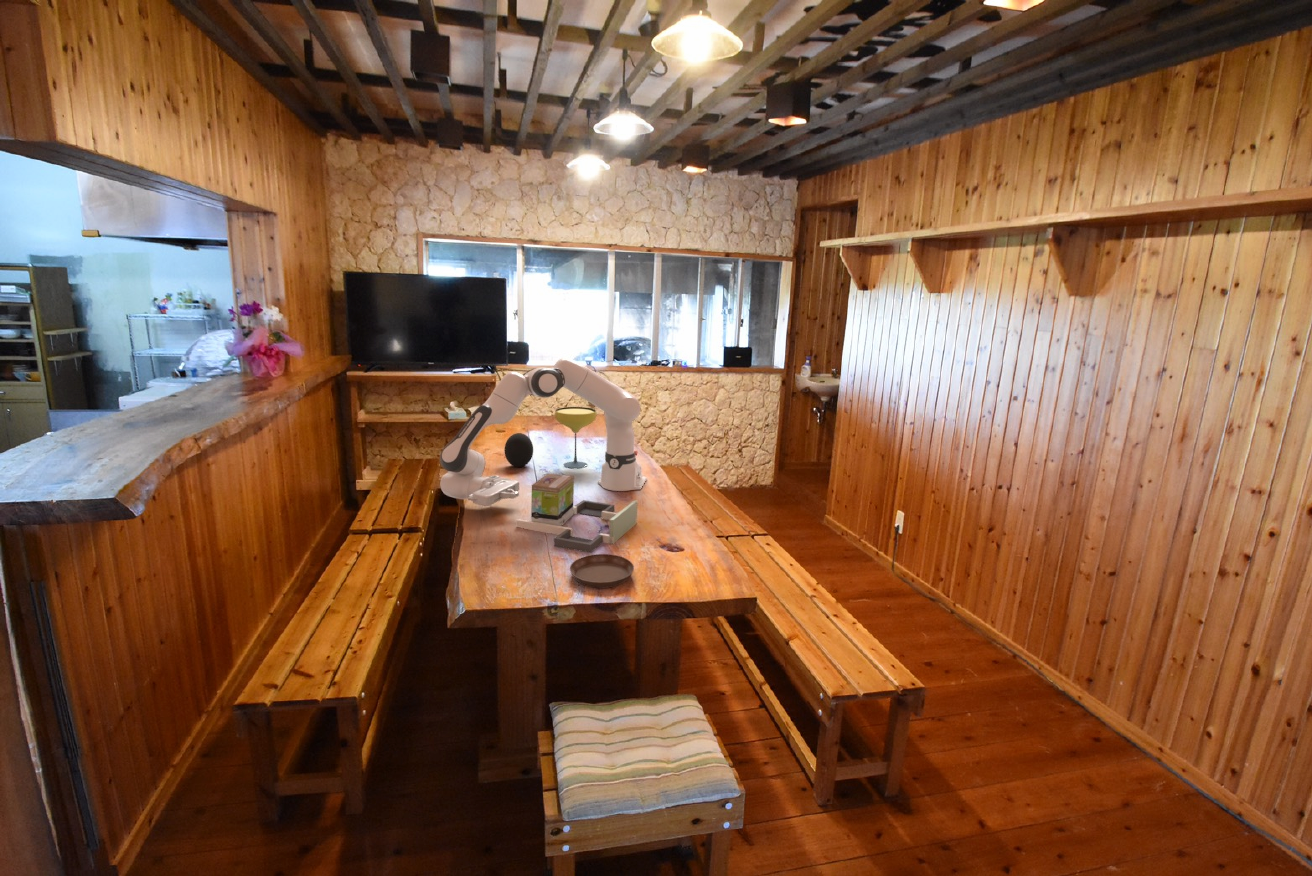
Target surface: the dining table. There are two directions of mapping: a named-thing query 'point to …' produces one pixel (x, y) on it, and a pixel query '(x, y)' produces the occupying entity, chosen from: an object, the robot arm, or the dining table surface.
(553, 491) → the tea box
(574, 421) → the cocktail glass
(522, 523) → the channel
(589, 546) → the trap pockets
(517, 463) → the decorative egg
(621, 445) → the robot arm
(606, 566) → the plant saucer
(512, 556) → the dining table surface
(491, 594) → the dining table surface
